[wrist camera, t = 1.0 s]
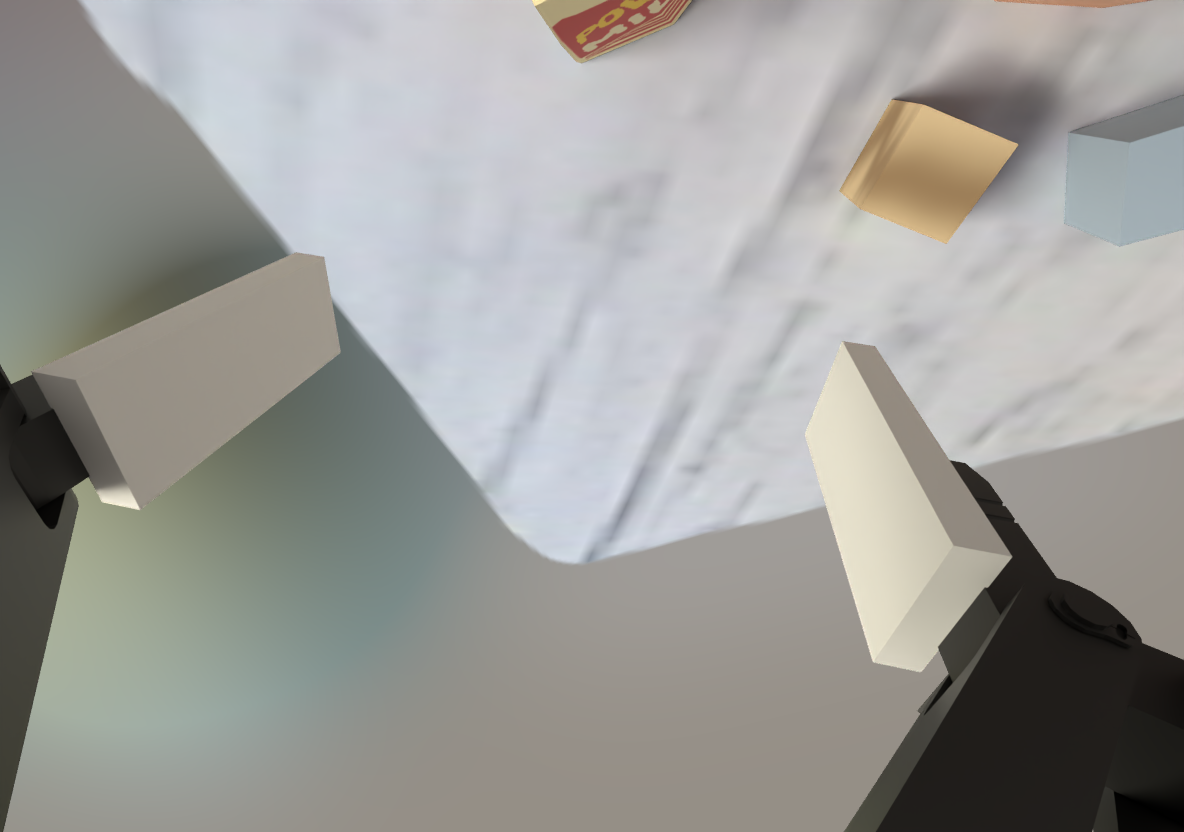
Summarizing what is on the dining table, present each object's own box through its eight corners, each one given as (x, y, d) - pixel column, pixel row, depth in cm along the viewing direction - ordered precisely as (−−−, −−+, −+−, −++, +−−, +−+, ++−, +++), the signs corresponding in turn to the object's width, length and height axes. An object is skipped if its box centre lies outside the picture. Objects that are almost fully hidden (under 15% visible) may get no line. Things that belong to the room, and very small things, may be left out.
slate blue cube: (1067, 132, 29) (1129, 142, 25) (1186, 93, 27) (1273, 97, 23) (1063, 222, 31) (1119, 246, 27) (1172, 192, 30) (1250, 212, 25)
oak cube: (891, 99, 29) (923, 104, 25) (973, 133, 30) (1018, 144, 25) (838, 190, 32) (860, 208, 28) (914, 221, 32) (946, 243, 28)
